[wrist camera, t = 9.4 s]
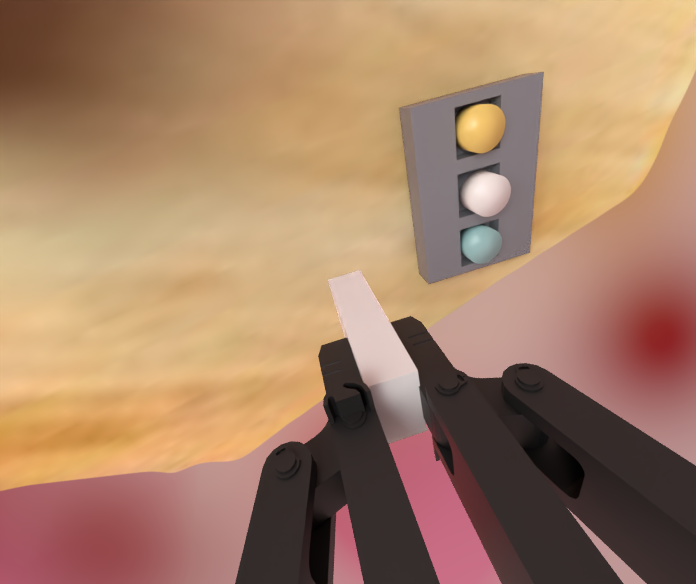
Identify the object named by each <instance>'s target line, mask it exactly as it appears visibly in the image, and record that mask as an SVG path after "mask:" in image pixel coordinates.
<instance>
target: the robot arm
mask: <svg viewBox="0 0 696 584" xmlns="http://www.w3.org/2000/svg"><path fill="white" fill-rule="evenodd" d="M328 283H329V286H330V290H331V293H332V297H333V300H334V303H335V307H336V310H337V314H338V317H339V320H340V324H341V327H342V330H343V333H344V336H345V338H344V339H340V340H337V341H334V342H331V343H328V344H325V345H322V346H321V349H320V352H319V356H318V357H319V362H320V366H321V371H322V375H323V380H324V385H325V390H326V395H325V397H324V404H323V406H324V409H325V411H326V414H327V417H328V419H329V420H328V422H327V424H326V426H325V427H324V428H323V430H322V431H321V432H320V433H319V434H318V435H316V436H315V437H314V438H313V439H311V440H310V441H308V442H307V443H305V444H302V443H300V442H288V443H285V444H282V445H280V446H279V447H277V448H276V449H274V450H273V451H272V453H271V454H270V455H269V456H268V457H267V459H266V461H265V464H264V466H263V469H262V473H261V477H260V482H259V486H258V490H257V494H256V498H255V503H254V507H253V511H252V515H251V520H250V524H249V528H248V532H247V536H246V541H245V545H244V550H243V553H242V558H241V562H240V566H239V570H238V574H237V578H236V583H235V584H333V571H334V547H335V523H336V512H337V511H338V510H340V509H341V508H342V507H343V506H345V505H346V504H348V509H349V514H350V518H351V523H352V528H353V533H354V538H355V542H356V547H357V551H358V557H359V561H360V566H361V571H362V575H363V580H364V584H440V583H439V580H438V578H437V575H436V572H435V570H434V567H433V564H432V561H431V559H430V556H429V553H428V551H427V548H426V545H425V542H424V540H423V537H422V534H421V532H420V529H419V526H418V524H417V521H416V518H415V515H414V513H413V510H412V507H411V504H410V502H409V499H408V496H407V493H406V491H405V488H404V485H403V483H402V480H401V477H400V474H399V472H398V469H397V467H396V463H395V461H394V458H393V455H392V453H391V450H390V447H389V444H390V443H393V442H395V441H398V440H401V439H404V438H407V437H410V436H413V435H416V434H419V433H421V432H424V431H427V428H426V424H427V425H428V428H429V429H430V431H431V433H432V439H433V445H434V453H435V458H436V461H438V460H440V459H441V461H442V463H443V465H444V467H445V469H446V471H447V473H448V475H449V477H450V479H451V482H452V484H453V486H454V488H455V489H456V492H457V494H458V496H459V498H460V500H461V502H462V504H463V506H464V508H465V510H466V512H467V514H468V516H469V518H470V520H471V522H472V524H473V526H474V528H475V530H476V532H477V534H478V536H479V538H480V540H481V542H482V544H483V547H484V549H485V550H486V553H487V555H488V557H489V559H490V561H491V563H492V565H493V567H494V569H495V571H496V573H497V575H498V577H499V579H500V581H501V583H502V584H623V582H622V581H621V580H620V578H619V577H618V576H617V574H616V573H615V572H614V570H613V569H612V568H611V566H610V565H609V564H608V562H607V561H606V560H605V558H604V557H603V556H602V554H601V553H600V552H599V550H598V549H597V548H596V546H595V545H594V544H593V542H592V541H591V539H590V538H589V537H588V535H587V534H586V533H585V531H584V530H583V529H582V527H581V526H580V525H579V523H578V522H577V521H576V519H575V518H574V517H573V515H572V514H571V513H570V511H571V512H572V513H573V514H575V515H576V516H577V517H578V518H579V519H580V520H581V521H582V522H583V523H584V524H585V525H586V526H587V527H588V528H589V529H590V530H591V531H592V532H593V533H594V534H595V535H596V536H598V537H599V538H600V539H601V540H602V541H603V542H604V543H605V544H606V545H607V546H608V547H609V548H610V549H611V550H612V551H613V552H614V553H615V554H616V555H617V556H619V557H620V558H621V559H622V560H623V561H624V562H625V563H626V564H627V565H628V566H629V567H630V568H631V569H632V570H633V571H634V572H635V573H636V574H637V575H639V577H640V578H641V579H643V580H644V581H645V582H646V583H647V584H696V466H695V465H694V464H692V463H691V462H689V461H687V460H686V459H684V458H683V457H681V456H680V455H678V454H676V453H675V452H673V451H672V450H670V449H669V448H667V447H666V446H664V445H662V444H661V443H659V442H658V441H656V440H654V439H653V438H651V437H650V436H648V435H647V434H645V433H644V432H642V431H641V430H639V429H638V428H636V427H634V426H633V425H631V424H629V423H628V422H627V421H625V420H623V419H622V418H620V417H619V416H617V415H616V414H614V413H613V412H611V411H610V410H608V409H606V408H605V407H603V406H602V405H600V404H599V403H597V402H595V401H594V400H592V399H591V398H589V397H588V396H586V395H585V394H583V393H581V392H580V391H578V390H577V389H575V388H574V387H572V386H571V385H569V384H567V383H566V382H564V381H563V380H561V379H559V378H558V377H557V376H555V375H553V374H552V373H550V372H549V371H547V370H545V369H543V368H541V367H539V366H537V365H533V364H527V363H524V364H515V365H512V366H510V367H508V368H507V369H506V370H505V371H504V372H503V376H502V377H501V378H473V377H469V376H467V375H466V374H465V373H464V372H462V371H459V370H457V369H455V368H454V367H453V366H452V364H451V363H450V362H449V360H448V359H447V357H446V356H445V354H444V353H443V352H442V350H441V349H440V348H439V346H438V345H437V343H436V342H435V341H434V340H433V338H432V336H431V335H430V334H429V333H428V331H427V329H426V328H425V327H424V325H423V324H422V322H420V321H418V320H417V319H415V318H413V317H411V316H410V317H407V318H403V319H400V320H397V321H394V322H391V323H390V321H389V320H388V318H387V316H386V314H385V313H384V311H383V309H382V307H381V306H380V304H379V302H378V300H377V299H376V297H375V295H374V294H373V292H372V290H371V288H370V287H369V285H368V283H367V281H366V280H365V278H364V276H363V274H362V273H361V271H360V270H358V271H354V272H351V273H348V274H345V275H341V276H338V277H335V278H331V279H328ZM439 457H440V458H439ZM567 508H568V509H569V510H570V511H569V510H568V509H567Z"/></svg>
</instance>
